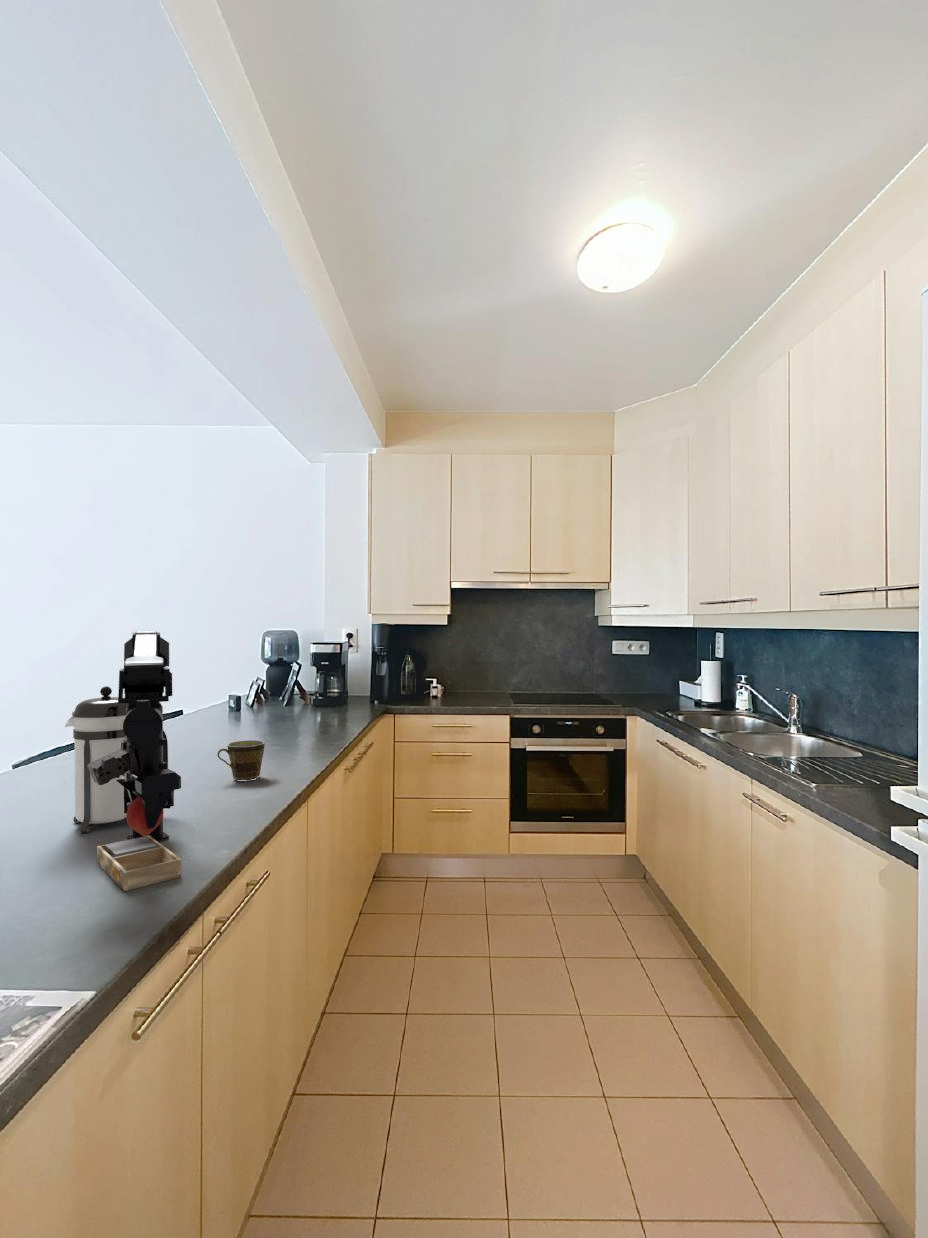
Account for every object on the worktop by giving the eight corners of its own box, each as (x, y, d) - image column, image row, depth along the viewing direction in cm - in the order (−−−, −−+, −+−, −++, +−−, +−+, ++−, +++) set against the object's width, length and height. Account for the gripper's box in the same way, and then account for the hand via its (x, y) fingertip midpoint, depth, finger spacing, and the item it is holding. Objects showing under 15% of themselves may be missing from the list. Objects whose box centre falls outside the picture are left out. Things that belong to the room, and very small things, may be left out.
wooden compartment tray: (95, 863, 120) (95, 845, 120) (149, 851, 126) (149, 833, 126) (123, 891, 107) (123, 871, 107) (181, 876, 113) (181, 857, 113)
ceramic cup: (256, 773, 191) (256, 739, 191) (270, 779, 184) (270, 743, 184) (211, 780, 183) (211, 744, 183) (224, 787, 175) (224, 749, 175)
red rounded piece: (121, 835, 114) (121, 789, 114) (156, 828, 118) (156, 783, 118) (133, 843, 109) (132, 795, 109) (168, 835, 113) (168, 789, 113)
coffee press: (116, 836, 135) (115, 690, 135) (49, 832, 138) (49, 689, 138) (170, 812, 152) (169, 682, 152) (109, 809, 155) (109, 682, 155)
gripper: (79, 732, 115) (79, 821, 115) (107, 747, 101) (108, 849, 101) (146, 725, 123) (147, 809, 123) (182, 738, 109) (182, 833, 109)
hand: (145, 824), depth 114 cm, fingers closed on red rounded piece, 6 cm apart
